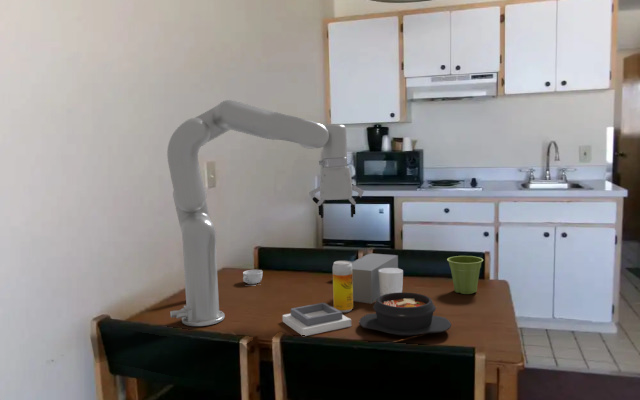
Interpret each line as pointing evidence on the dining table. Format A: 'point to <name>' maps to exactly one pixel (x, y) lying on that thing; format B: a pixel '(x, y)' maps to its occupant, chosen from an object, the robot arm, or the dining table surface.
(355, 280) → the grey rectangular block
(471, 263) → the plant pot
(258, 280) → the teacup
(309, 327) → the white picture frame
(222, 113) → the robot arm
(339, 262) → the beer can
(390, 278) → the white cup
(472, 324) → the dining table surface
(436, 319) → the casserole
